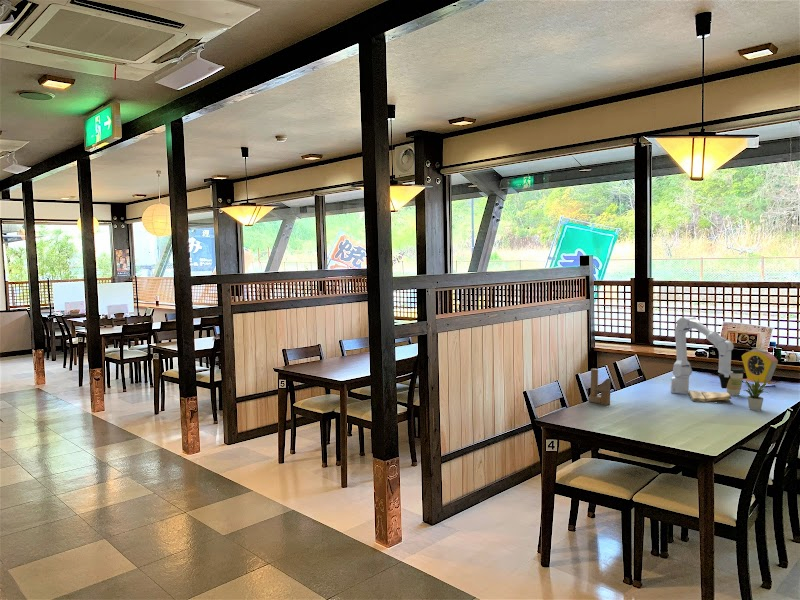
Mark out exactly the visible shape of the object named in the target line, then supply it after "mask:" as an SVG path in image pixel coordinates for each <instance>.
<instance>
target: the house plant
mask: <svg viewBox="0 0 800 600" xmlns="http://www.w3.org/2000/svg"><path fill="white" fill-rule="evenodd" d="M753 379H754V378H753ZM754 382H755V379H754ZM766 383H768V382H766ZM766 383H764V384H763V385H762V386H760V384H759V379H758V380H757V381H756V382H755V385H754V384H749V383H748V382H747V381H746V383H744V384H745V385H746V386H747V389H744V390H743V391H745V392H747V393H748V394H749V396H747V402H748V404H747V405H748V409H749V408H750V409H753V410H752V411H754V410H760V411H762V406H763V402H764V397H763V396H762V397H761V396H760V395H761V394H763V395H764V394H765V393H768V394H770V393H771V392H769V391H766V392H764V390H765V388H767V387H766V386H765V385H766ZM773 383H774V382H772V383H768V384H773ZM764 386H765V387H764ZM750 409H749V410H750Z"/></svg>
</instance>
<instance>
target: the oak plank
mask: <svg viewBox="0 0 800 600" xmlns="http://www.w3.org/2000/svg"><path fill="white" fill-rule="evenodd" d="M718 393H719V394H709V395H704V397H705V400H706V401H713V400H723V399H729V400H731V399H732V396H731V395H730V394H729V393H727V392H718Z"/></svg>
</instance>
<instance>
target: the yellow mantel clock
mask: <svg viewBox="0 0 800 600" xmlns="http://www.w3.org/2000/svg"><path fill="white" fill-rule="evenodd" d="M741 360H742V363H743V367H744V370H745V371H744V372H745V375H746V378H743V379H742V380H746V381H751V382H754V379H755V382H756V381H757V380H758V379H759V383H766V382H768V383H771V380H772V377H773V376H774V372H775V371H776V368H777V367H778V366H777V365H778V364H779V363H778V362H779V360H778V359H777V358H776V356H774V355H773V354H772V353H770V352H768V351H767V350H765V349H763V348H755V349H751V350H750V351H746V352H745V353H743V354H742V355H741ZM753 378H754V379H753ZM772 383H773V384H776V383H775V382H772Z"/></svg>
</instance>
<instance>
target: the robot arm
mask: <svg viewBox="0 0 800 600" xmlns="http://www.w3.org/2000/svg"><path fill="white" fill-rule="evenodd" d="M692 329H693V330H696V331H698V332H699V333H701V334H703V335H704V336H706V337H707V338H706V339H707V341H709V342H710V343H711V344H712V345H714V346H715V347H716V349H717V351H718V370H717V373H719V374H717V376H718V378H719V381H720V382H719V383H720V387H721V389H727V384H728V381H729V379H730V378H731V376H730V375H729V374H730V373H733V372H732V371H731V367H732V366H731V364H732V351H733V350H734V348H735V345H734V343H733V342H732V341H731V340H727V339H726V338H724V337H723V336H721V335H720V333H719V332H717V331H711V330H710V329H709V328H708V327H706V326H705V325H704V324H703V323H702V322H701V321H700V319H698V318H696V317H695V316H688V317H687V316H685V317H684V316H683V317H680V318H678V319H677V320H676V326H675V329H674V334H675V335H674V336H675V338H674V339H675V351H676V352H675V353H676V361H675V362H674V363H673V367H672V374H673V376H671V377H670V391H671V393H672V394H682V393H684V395H689V389H690V385H689V384H690V375H692V373H693V369H692V367H691V362H690V361H689V360H688V351H687V337H686V336H687V333H688V331H690V330H692Z"/></svg>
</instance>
